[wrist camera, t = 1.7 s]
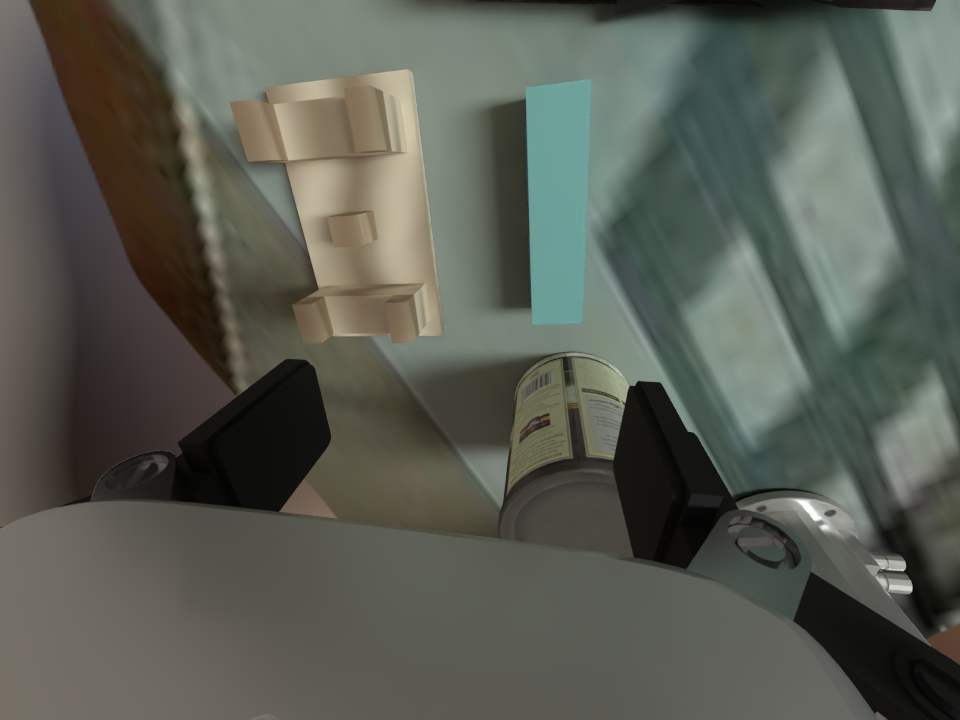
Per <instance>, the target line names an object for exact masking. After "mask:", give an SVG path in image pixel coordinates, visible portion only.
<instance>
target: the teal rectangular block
mask: <svg viewBox="0 0 960 720" xmlns="http://www.w3.org/2000/svg"><path fill="white" fill-rule="evenodd" d="M591 80H592V79H586V80H578V81H571V82H564V83H556V84H549V85H542V86H534V87H527V88H526V118H527V123H524V128H525V162H526V196H527V204H529V228H530V231H529V234H528V264H529V298H530V301H531V302H532V325H547V324H583V297H584V269H585V242H586V215H587V188H588V161H589V134H590V107H591Z"/></svg>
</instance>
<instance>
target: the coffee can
mask: <svg viewBox="0 0 960 720" xmlns="http://www.w3.org/2000/svg"><path fill="white" fill-rule="evenodd" d="M628 388H629V385H628V383H627V381H626V379H625V378H624V376H623V375H622V374H621V372H620V371H619V370H618V369H617V368H616V367H615V366H613V365H612V364H610V363H609V362H607V361H606V360H604V359H601V358H599V357H597V356H595V355H589V354H586V353H578V352H569V353H560V354H556V355H553V356H549V357H547V358H545V359H543V360H541V361H539V362H538V363H536V364H535V365H533V366H532V367H531V368H530V369H529V370H528V371H527V372H526V373H525V374H524V375H523V376H522V378H521V380H520V381H519V383H518V385H517V388H516V391H515V396H514V411H513V421H512V430H511V439H510V448H509V457H508V465H507V473H506V482H505V491H504V501H503V505H502V508H501V511H500V515H499V521H498V534H499V539H507V540H515V541H522V542H530V543H538V544H546V545H553V546H560V547H567V548H575V549H582V550H589V551H596V552H603V553H610V554H616V555H621V556H627V557H633V558H634V556H633V552H632V548H631V544H630V540H629V535H628V531H627V527H626V523H625V519H624V514H623V510H622V506H621V502H620V498H619V493H618V489H617V485H616V481H615V476H614V472H613V460H614V455H615V450H616V445H617V440H618V435H619V431H620V426H621V421H622V416H623V411H624V407H625V402H626V397H627V392H628Z"/></svg>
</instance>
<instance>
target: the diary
mask: <svg viewBox="0 0 960 720" xmlns="http://www.w3.org/2000/svg"><path fill="white" fill-rule="evenodd" d="M489 1H513V2H537V3H562V4H616V12H615V14H620V13H624V12H629V11H633V10H638V9H642V8H647V7H651V6H656V5H660V4H686V5H704V6H723V7H744V6H764V5H762V4H759V3H757V2H755V1H752V0H489ZM813 1H817V2H821V3H825V4H829V5H833V6H838V7H845V8H867V9H889V10H918V11H931V10H932V8H933V6H934V4H935V2H936V0H813Z"/></svg>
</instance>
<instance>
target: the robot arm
mask: <svg viewBox="0 0 960 720" xmlns="http://www.w3.org/2000/svg"><path fill="white" fill-rule="evenodd" d="M330 440H331V433H330V429H329V425H328V421H327V416H326V412H325V408H324V404H323V400H322V396H321V392H320V388H319V384H318V380H317V375H316V371H315V368H314V367H313V366H312V365H310V363H309V362H308V361H306V360H298V359H286V360H284V361H283V362H282V363H280V364H279V365H278V366H276V367H275V368H274V369H272V370H271V371H270V372H269V373H267V374H266V375H265V376H263V377H262V378H261V379H259V380H258V381H257V382H256V383H254V384H253V385H252V386H250V387H249V388H248V389H247V390H245V391H244V392H243V393H241V394H240V395H239V396H237V397H236V398H235V399H234V400H232V401H231V402H230V403H228V404H227V405H226V406H225V407H223V408H222V409H221V410H219V411H218V412H217V413H216V414H214V415H213V416H212V417H210V418H209V419H208V420H206V421H205V422H204V423H203V424H201V425H200V426H199V427H197V428H196V429H195V430H194V431H192V432H191V433H190V434H188V435H187V436H186V437H184V438H183V439H182V440H181V441H179V442H178V444H179V446H180V448H181V450H182V452H183V453H182V454H181V455H180V456H178V457H177V458H176V456H175V455H174V454H173V453H172V452H170V451H163V450H161V451H151V452H147V453H142V454H139V455H137V456H134V457H131V458H129V459H127V460H125V461H123V462H121V463H119V464H117V465H116V466H114V467H113V468H111V469H110V470H108V471H107V472H106V473H105V474H104V475H103V476H102V477H101V478H100V480H99V481H98V483H97V484H96V487H95V490H94V492H93V495H91V496H88V497H85V498H82V499H79V500H77V501H74V502H71V503H68V504H65V505H63V506H60V507H57V508H53V509H49V510H45V511H42V512H39V513H36V514H32V515H29V516H26V517H23V518H21V519H18V520H16V521H14V522H12V523H9V524H8V525H6V526H3V527H0V720H960V665H959V664H957V663H956V662H954V661H953V660H952V659H950V658H948V657H947V656H945V655H943V654H942V653H940V652H939V651H937V650H936V649H934V648H932V647H931V646H930V644H929V643H928V642H927V641H926V640H925V638H924V637H923V636H922V635H921V633H920V632H919V631H918V630H917V628H916V627H915V626H914V625H913V623H912V622H911V621H910V620H909V619H908V617H907V616H906V615H905V614H904V612H903V611H902V610H901V609H900V607H899V606H898V605H897V604H896V602H895V601H894V600H893V599H892V597H891V596H890V595H889V594H888V593H887V592H892V593H902V594H910V593H911V592H912V583H911V580H910V579H909V577H908V576H907V575H906V574H905V573H904V572H903V571H904V570H905V569H906V564H905V561H904V559H903V558H902V557H901V556H900V555H899V554H895V553H884V552H878V553H874V552H870V551H869V550H867V549H865V548H864V546H863V545H862V544H861V543H860V542H859V531H858V528H857V526H856V523H855V522H854V521H853V519H852V518H851V517H850V516H849V514H848V513H847V512H846V511H845V510H844V509H843V508H842V507H841V506H840V505H839V504H837V503H835V502H833V501H832V500H830V499H828V498H825V497H823V496H820V495H817V494H813V493H807V492H802V491H773V492H767V493H761V494H757V495H753V496H750V497H747V498H744V499H742V500H740V501H737V502H735V501H734V500H733V498H732V496H731V495H730V493H729V491H728V489H727V488H726V486H725V484H724V482H723V481H722V479H721V477H720V475H719V474H718V472H717V470H716V468H715V467H714V465H713V463H712V461H711V460H710V458H709V456H708V454H707V453H706V451H705V449H704V448H703V446H702V444H701V442H700V441H699V439H698V437H697V436H696V435H695V434H694V433H692V432H688V431H687V429H686V428H685V426H684V424H683V422H682V420H681V418H680V417H679V415H678V413H677V411H676V409H675V407H674V406H673V404H672V402H671V400H670V398H669V397H668V395H667V393H666V391H665V389H664V387H663V386H662V384H661V383H659V382H644V381H638V382H637V383H636V386H629V388H628V392H627V397H626V402H625V407H624V411H623V416H622V421H621V426H620V431H619V435H618V440H617V445H616V450H615V455H614V460H613V472H614V476H615V481H616V485H617V489H618V493H619V498H620V502H621V506H622V510H623V514H624V519H625V523H626V527H627V531H628V535H629V540H630V544H631V548H632V552H633V556H634V558H633V557H627V556H621V555H616V554H610V553H603V552H596V551H589V550H582V549H575V548H567V547H560V546H553V545H546V544H538V543H530V542H522V541H515V540H507V539H499V538H491V537H483V536H475V535H467V534H459V533H451V532H443V531H435V530H427V529H419V528H410V527H402V526H394V525H386V524H377V523H369V522H361V521H352V520H344V519H336V518H327V517H319V516H310V515H301V514H292V513H284V512H279V511H280V510H281V508H282V507H283V506H284V504H285V503H286V502H287V500H288V499H289V498H290V496H291V495H292V494H293V492H294V491H295V490H296V488H297V487H298V486H299V484H300V483H301V482H302V480H303V479H304V478H305V476H306V475H307V474H308V472H309V471H310V470H311V468H312V467H313V466H314V464H315V463H316V462H317V460H318V459H319V458H320V456H321V455H322V454H323V452H324V451H325V450H326V448H327V447H328V445H329V443H330Z"/></svg>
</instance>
